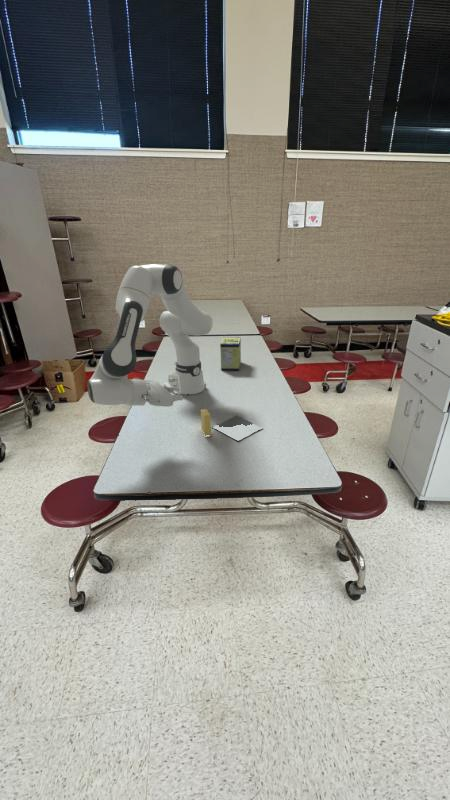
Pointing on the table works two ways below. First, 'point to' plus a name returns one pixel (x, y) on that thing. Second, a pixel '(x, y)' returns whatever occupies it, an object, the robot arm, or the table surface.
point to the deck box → (206, 422)
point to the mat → (234, 422)
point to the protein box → (230, 353)
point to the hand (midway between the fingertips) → (177, 393)
